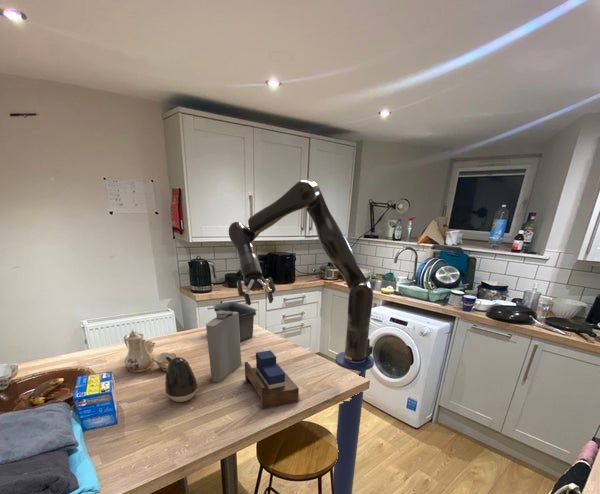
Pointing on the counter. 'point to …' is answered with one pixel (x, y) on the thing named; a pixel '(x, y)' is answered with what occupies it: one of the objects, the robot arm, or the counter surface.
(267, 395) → the shoe shelf
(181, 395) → the dark brown tall dome
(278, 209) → the robot arm
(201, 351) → the counter surface
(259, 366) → the trainer
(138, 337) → the chinaware
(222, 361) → the flask
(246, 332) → the storage bin
